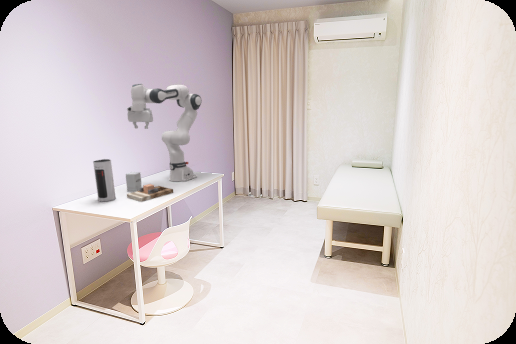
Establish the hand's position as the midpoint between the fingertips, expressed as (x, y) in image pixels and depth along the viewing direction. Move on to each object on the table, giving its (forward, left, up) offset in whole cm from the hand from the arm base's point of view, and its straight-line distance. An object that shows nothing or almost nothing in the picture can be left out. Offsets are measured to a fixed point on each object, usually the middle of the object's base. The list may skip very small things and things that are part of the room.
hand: (141, 128), depth 226 cm
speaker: (+31, +2, -44) cm, 53 cm away
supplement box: (+8, -3, -44) cm, 44 cm away
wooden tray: (+8, +17, -43) cm, 47 cm away
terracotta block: (+9, +17, -41) cm, 45 cm away
